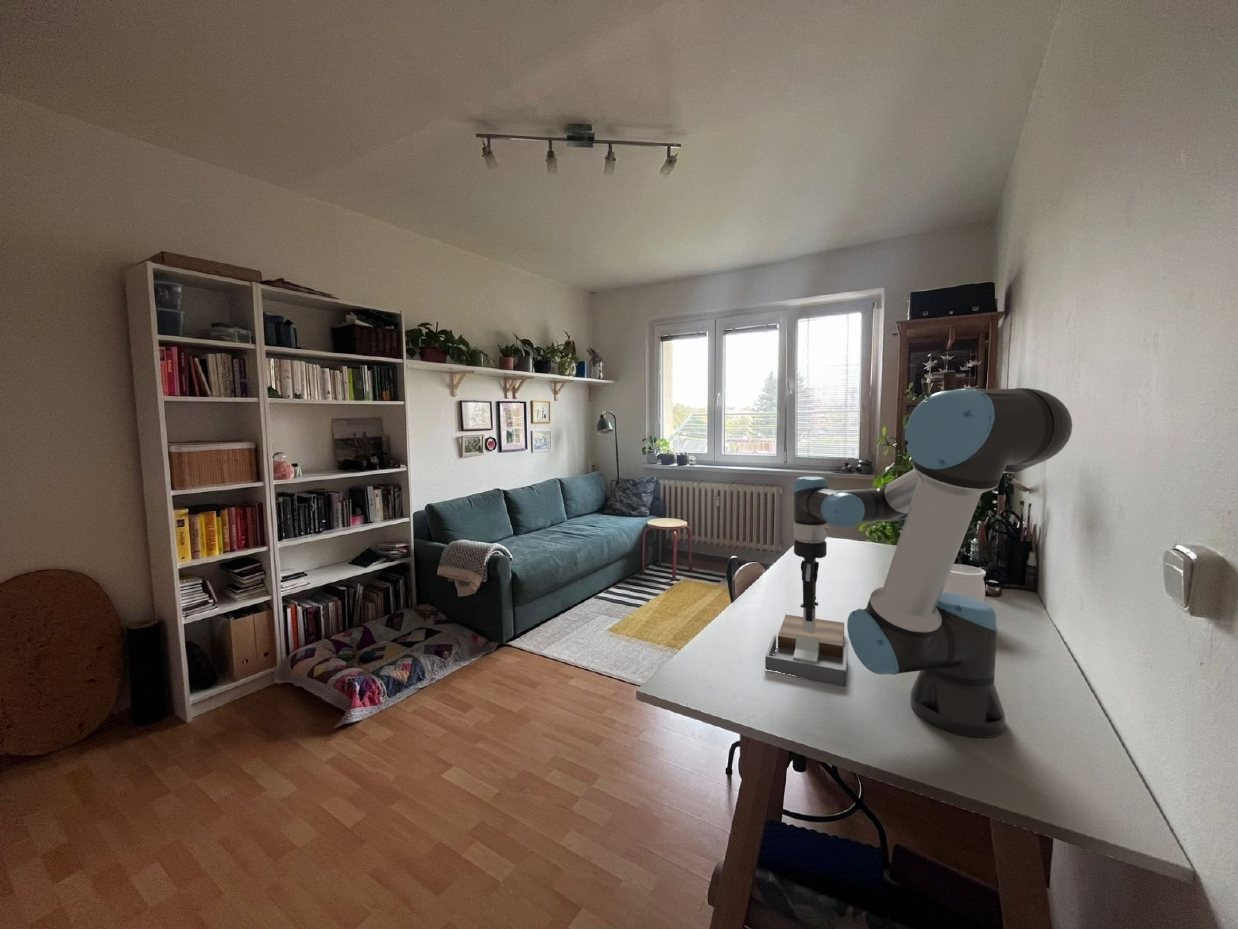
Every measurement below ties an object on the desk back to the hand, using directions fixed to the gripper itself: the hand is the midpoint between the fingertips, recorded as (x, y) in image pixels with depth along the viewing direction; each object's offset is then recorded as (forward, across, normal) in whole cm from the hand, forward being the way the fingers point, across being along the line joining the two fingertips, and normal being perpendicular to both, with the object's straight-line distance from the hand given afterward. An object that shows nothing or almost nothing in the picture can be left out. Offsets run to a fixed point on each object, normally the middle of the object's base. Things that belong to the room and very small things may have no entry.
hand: (809, 631), depth 122 cm
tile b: (+3, -6, 0) cm, 7 cm away
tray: (+5, -8, 0) cm, 9 cm away
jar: (+5, +36, -38) cm, 53 cm away
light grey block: (+1, -11, 0) cm, 11 cm away
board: (+5, +6, 0) cm, 8 cm away
